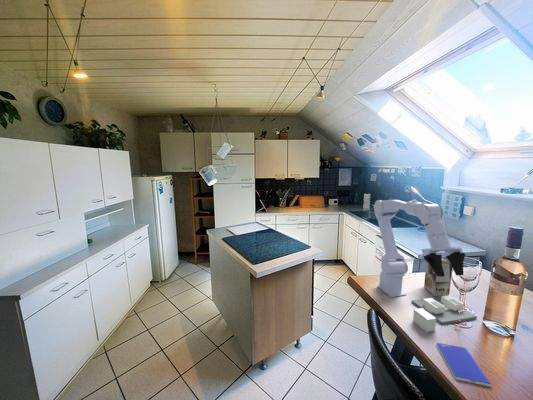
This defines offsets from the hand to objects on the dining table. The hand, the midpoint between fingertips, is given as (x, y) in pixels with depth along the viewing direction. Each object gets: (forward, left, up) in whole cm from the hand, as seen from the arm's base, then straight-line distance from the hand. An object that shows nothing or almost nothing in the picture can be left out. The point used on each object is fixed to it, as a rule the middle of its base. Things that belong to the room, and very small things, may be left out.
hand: (450, 275), depth 75 cm
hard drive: (+10, -6, -23) cm, 26 cm away
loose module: (-6, -3, -23) cm, 23 cm away
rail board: (-12, +12, -22) cm, 28 cm away
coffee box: (-24, +22, -23) cm, 40 cm away
